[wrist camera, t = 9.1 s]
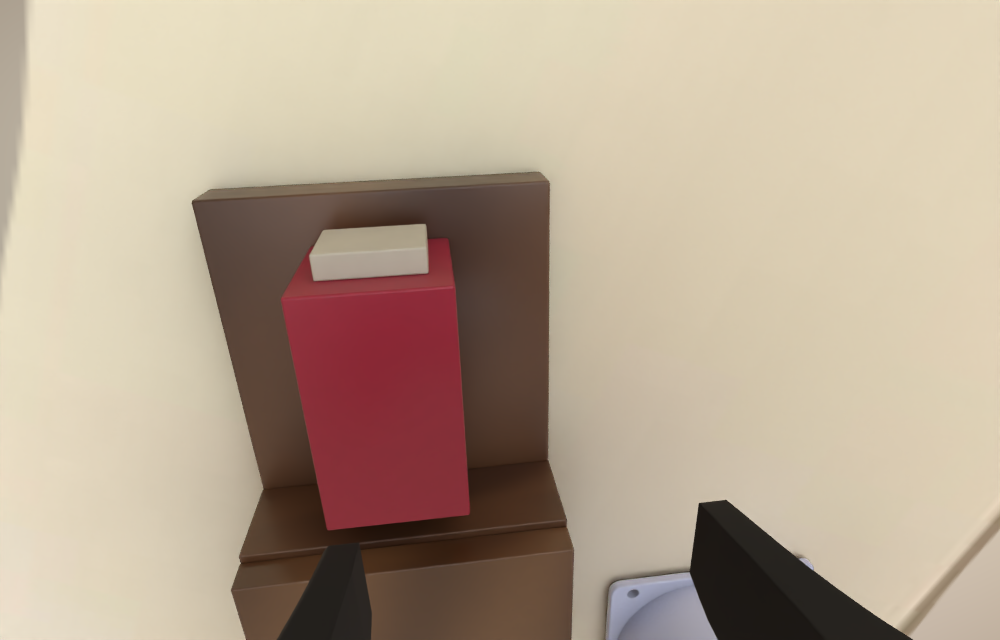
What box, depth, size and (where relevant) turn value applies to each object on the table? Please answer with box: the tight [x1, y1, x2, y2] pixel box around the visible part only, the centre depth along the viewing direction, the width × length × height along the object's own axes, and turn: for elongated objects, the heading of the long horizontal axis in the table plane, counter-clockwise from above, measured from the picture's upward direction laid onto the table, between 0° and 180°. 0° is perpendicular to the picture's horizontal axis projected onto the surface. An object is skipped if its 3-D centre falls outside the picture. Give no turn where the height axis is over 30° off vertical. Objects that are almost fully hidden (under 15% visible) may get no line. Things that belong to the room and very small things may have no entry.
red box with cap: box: [281, 224, 470, 530], centre depth 17 cm, size 4×8×4 cm, turn 2°
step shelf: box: [192, 172, 574, 640], centre depth 20 cm, size 10×21×6 cm, turn 2°
